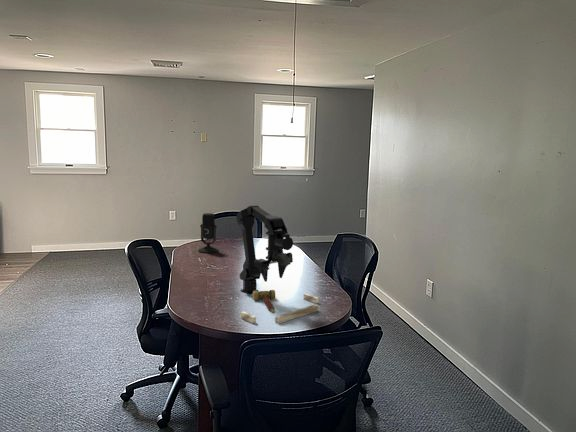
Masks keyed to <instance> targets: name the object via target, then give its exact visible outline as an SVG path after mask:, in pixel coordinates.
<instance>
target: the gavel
mask: <svg viewBox="0 0 576 432" xmlns="http://www.w3.org/2000/svg"><path fill="white" fill-rule="evenodd" d="M251 294H252V300H253V302H255V301H256V302H257V301H263V302H264V304H265V306H266V307H267V309H268V311H269V312H271V313H275V306H274V304H273V303H272V300H275V299H276V291H275V289H270V290H259V291H253V293H251Z"/></svg>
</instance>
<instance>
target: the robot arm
mask: <svg viewBox="0 0 576 432" xmlns="http://www.w3.org/2000/svg"><path fill="white" fill-rule="evenodd" d="M235 219H236V221H237V225H238V226H239V228H240V229H241V232H242V240H243V241H242V242H243V248H244V249H243V251H244V257H245V258H244V262H243V265H242V270H241V272H240V273H239V279H240V280H241V281H243V282H242V288H241V289H240V292H243V293H246V294H248V295H249V294H253V291H258V292H259V291H260V290H258V289H257V285H258V284H257V280H260V279H261V276H262V279H263V281H264V282H266V283H267V281H268V271H269V270H270V265H271V264H277V269H278V276H279V277H278V278H280V279H282V278H283V276H284V273H285V271H286V269H287V267H288V266H289V265H291V263H293V260H294V257H293V253H292V252H287V253H286V252H284V250H285V251H289V250H291V249H292V248H293V246H294V241H293V238H292V237H291V236H290V234H289V232H288V228H287V226H286V225H285V222H284V219H283V218H282V217H280V216H277V215H271V214H270V213H269V212H267V211H265V210H264V209H263V208H261V207H260V206H259V205H255V204H254V205H249V206H247V207H246V208H243V209H242V210H240V211H238V213H236V218H235ZM256 219H257V220H258V221H260V222H262V223H263V225H264V228H265V229H266V230H267V231H265V235H267V247H265V250H266V251H267V255H266V256H265V258H258V259H257V257H256V251H255V250H256V249H255V242H254V233H253V227H254V226H255V222H256Z"/></svg>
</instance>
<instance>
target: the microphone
mask: <svg viewBox="0 0 576 432" xmlns="http://www.w3.org/2000/svg"><path fill="white" fill-rule="evenodd" d="M215 220H216V219H215V213H211V212H209V213H207V212H206V213H205V212H204V213H202V219H201V221H202V223H200V225H199V226H200V241H201V242H202V243H203V244H204V245H206V246H203V247H200V248H198V249H197V252H198V253H200V254H216V253H218V252H219V248H217V247H213V246H211V245H212V244H214V243H215V242H216V240H217V225H216V223H215ZM206 240H213V241H212V242H210V241H209V242H208V241H206Z"/></svg>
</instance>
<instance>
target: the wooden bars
mask: <svg viewBox="0 0 576 432" xmlns="http://www.w3.org/2000/svg"><path fill="white" fill-rule="evenodd" d="M303 300H305V301H307V302H310V303H314V304H312V305H308V306H306V307H303V308H299V309H296V310H293V311H289V312H287V313H282V314H280V315H277V316H275V321H274V322H275V324H277V325H278V324H281V323H284V322H287V321H291V320H293V319H297V318H299V317H303V316H305V315H309V314H312V313H315V312H317V311H319V305H318V304H319V301H320V299H319V297H318V296H315V295H312V294H308V293H303ZM240 319H242V320H245V321H247V322H249V323H250V324H256V323H257V316H255V315H254V314H251V313H248V312H246V311H244V310H243V311H240Z"/></svg>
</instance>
